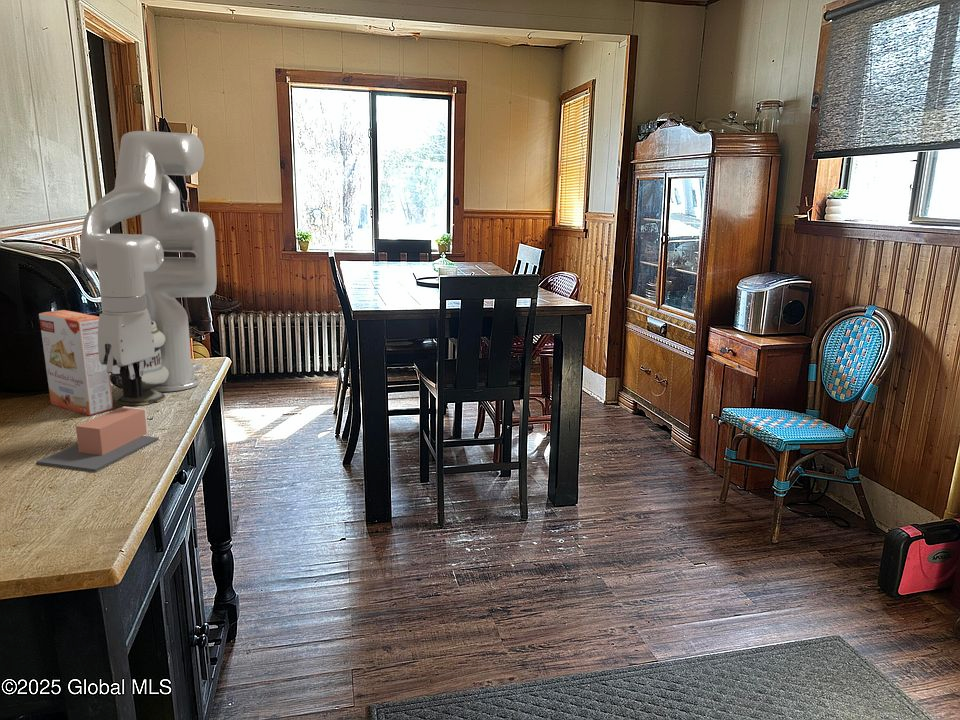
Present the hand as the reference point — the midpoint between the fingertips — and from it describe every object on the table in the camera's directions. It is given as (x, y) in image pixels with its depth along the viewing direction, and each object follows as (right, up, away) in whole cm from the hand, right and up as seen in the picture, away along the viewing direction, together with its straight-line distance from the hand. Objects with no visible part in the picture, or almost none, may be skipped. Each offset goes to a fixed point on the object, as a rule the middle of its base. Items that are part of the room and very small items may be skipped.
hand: (133, 396), depth 129 cm
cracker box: (-20, -4, +16) cm, 26 cm away
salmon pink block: (0, -5, +1) cm, 5 cm away
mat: (-2, -10, -7) cm, 12 cm away
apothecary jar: (-10, -2, +23) cm, 25 cm away
